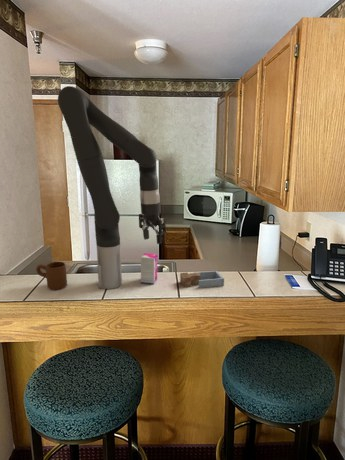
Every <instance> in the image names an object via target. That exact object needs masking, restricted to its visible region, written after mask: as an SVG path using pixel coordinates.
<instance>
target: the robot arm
mask: <svg viewBox="0 0 345 460" xmlns="http://www.w3.org/2000/svg"><path fill="white" fill-rule="evenodd" d="M57 103H58V107H59V109H60V112H61V114H62V116H63V119H64V121H65V123H66V127H67V129H68V132H69V135H70V138H71V143H72V148H73V152H74V155H75V158H76V161H77V165H78V168H79V172H80V174H81V177H82V179H83V182H84V184H85V186H86V189H87V190H88V192H89V195H90V198H91V203H92V207H93V210H94V214H93V216H94V217H93V218H94V230H95V231H94V232H95V234H94V235H95V243H96V244H95V245H96V259H97V260H96V261H97V277H98V278H97V281H98V289H105V290H112V289H113V290H114V289H116V288H119V287H121V286H122V284H123V279H122V256H121V254H122V253H121V237H120V227H119V223H120V220H121V219H120V218H121V216H120V211H119V210H118V208H117V206H116V204H115V201H114V198H113V195H112V192H111V189H110V182H109V176H108V171H107V169H106V168H107V167H106V162H105V160H104V155H103V153H102V150H101V148H100V145H99V143H98V141H97V139H96V137H95V134H94V133H93V130H92V129H91V127H93V128H94V129H95V130H97V131H98V132H99V133H100V134H101V135H102V136H103V137H104V138H105V139H106V140H107V141H109V142H110V143H111V144H112V145H114V146H115V147H116V148H117V149H119V150H121V152H124V153H125V154H127V155H128V156H129V157H130V158H131V159H132V160H133V161H134V162H136V163H137V164H138V169H139V172H138V173H139V199H140V201H139V202H140V213H139V214H138V227H139V229H141V230H142V234H143V235H142V236H143V240H148V239H150V233H149V232H150V230H149V228H151V229H152V230H153V231H154V232H155V234H156V237H155V238H156V244H157V245H161V244H162V243H163V241H164V240H163V239H164V238H163V234H166V233H167V226H166V218H164V217H161V218H160V215H159V214H160V213H161V212H162V211H161V196H160V190H159V189H160V188H159V177H158V173H157V160H158V156H157V153H156V152H155V150H154V149H152V148H151V147H149V146H147V145H146V144H145V143H143V142H142V141H141V140H139V139H138V138H137V137H136V136H135V135H134V134H133V133H131V132H130V131H129V130H127V128H125V127H124V126H122V125H121V124H119V123H118V122H117V121H115V120H114V119H112V118H111V117H110V116H108V115H107V114H105V113H104V112H103V111H102V110H101V109H100V108H98V107H97V106H96V105H95V104H94V103H93V101H91V100H90V98H89V97H88V96H87V95H86V94H85V92H84V91H83V90H81V89H80V88H77V87H75V86H72V85H71V86H70V85H67V86H64V87H62V88H61V90H60V91H59V93H58V95H57Z"/></svg>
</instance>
